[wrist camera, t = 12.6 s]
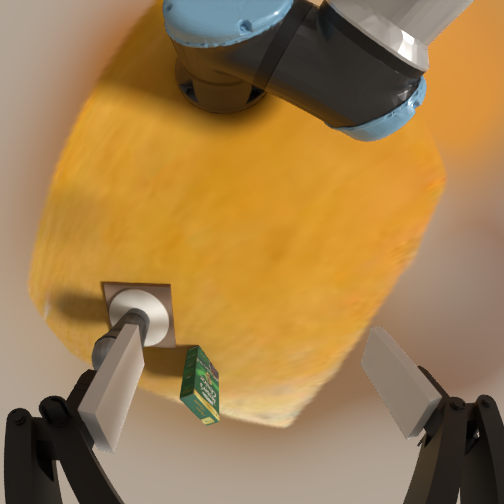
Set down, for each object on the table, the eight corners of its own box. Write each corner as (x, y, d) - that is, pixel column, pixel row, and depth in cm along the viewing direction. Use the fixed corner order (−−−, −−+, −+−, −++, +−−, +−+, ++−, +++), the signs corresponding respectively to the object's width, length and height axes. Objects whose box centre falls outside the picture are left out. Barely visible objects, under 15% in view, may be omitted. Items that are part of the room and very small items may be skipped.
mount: (106, 281, 44) (101, 286, 43) (170, 284, 46) (168, 289, 44) (116, 340, 48) (113, 345, 46) (176, 344, 49) (174, 350, 47)
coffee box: (220, 374, 51) (220, 423, 39) (208, 378, 51) (205, 427, 39) (199, 344, 49) (193, 392, 36) (186, 349, 49) (177, 397, 37)
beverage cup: (138, 292, 43) (90, 365, 24) (166, 325, 45) (137, 409, 26) (110, 313, 44) (59, 385, 25) (137, 343, 46) (101, 423, 27)
